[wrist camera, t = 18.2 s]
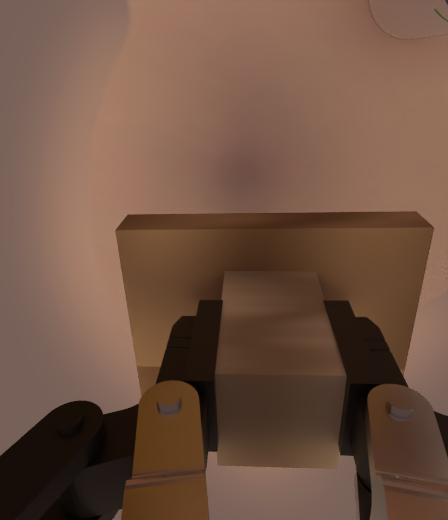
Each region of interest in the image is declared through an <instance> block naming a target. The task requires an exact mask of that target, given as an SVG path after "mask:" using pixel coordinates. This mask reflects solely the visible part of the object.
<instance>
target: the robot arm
mask: <svg viewBox="0 0 448 520" xmlns="http://www.w3.org/2000/svg"><path fill="white" fill-rule="evenodd" d="M323 301H324V304H325V308H326V311H327V314H328V317H329V320H330V324H331V327H332V330H333V333H334V336H335V340H336V343H337V346H338V349H339V352H340V356H341V359H342V362H343V365H344V368H345V372H346V375H347V378H346V386H345V394H344V402H343V409H342V417H341V425H340V433H339V440H338V446H339V451H340V455H349V456H354V460H355V464H356V471H355V477H354V488H355V504H356V520H448V416H446V415H442V414H440V413H437V412H435V411H434V410H433V408H432V406H431V404H430V403H429V401H428V400H427V399H426V398H425V397H424V396H422V395H421V394H420V393H418V392H417V391H415V390H413V389H411V388H409V387H408V385H407V383H406V381H405V379H404V377H403V375H402V373H401V371H400V369H399V367H398V365H397V363H396V361H395V359H394V357H393V354H392V352H390V348H389V346H388V344H387V342H385V338H384V336H383V334H382V332H381V330H380V328H379V327H378V326H377V325H376V324H375V323H373V322H372V321H371V320H370V319H369V318H368V317H355V315H354V312H353V310H352V308H351V305H350V303H349V301H348V300H323ZM222 305H223V300H199V304H198V309H197V314H196V316H181V318H180V319H179V320H178V321H177V322H176V323H175V324H174V325H173V326H172V329H171V333H170V336H169V340H168V343H167V346H166V350H165V353H164V357H163V360H162V364H161V367H160V370H159V374H158V377H157V381H156V384H155V385H154V386H152V387H150V388H149V389H148V390H147V391H146V392H145V393H144V394H143V395H142V397H141V399H140V401H139V404H137V405H135V406H133V407H131V408H128V409H124V410H121V411H116V412H112V413H108V414H104V415H103V413H102V410H101V409H100V407H99V406H98V405H96V404H94V403H92V402H89V401H73V402H69V403H66V404H64V405H61V406H59V407H57V408H56V409H54V410H52V411H51V412H50V413H49V414H48V415H46V416H45V417H44V418H43V419H42V420H41V421H39V422H38V423H37V424H36V425H35V426H34V427H33V428H32V429H30V430H29V431H28V432H27V433H26V434H25V435H24V436H22V437H21V438H20V439H19V440H18V441H17V442H16V443H15V444H13V445H12V446H11V447H10V448H9V449H8V450H7V451H5V452H4V453H3V454H2V455H1V456H0V520H112V519H113V518H114V517H115V515H116V513H117V512H118V510H119V509H122V515H121V520H209V508H208V496H207V485H206V473H205V471H206V467H207V456H208V451H212V452H218V423H217V404H216V385H215V369H216V360H217V351H218V341H219V332H220V323H221V314H222Z"/></svg>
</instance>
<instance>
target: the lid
mask: <svg viewBox="0 0 448 520" xmlns="http://www.w3.org/2000/svg"><path fill="white" fill-rule="evenodd" d="M433 230H434V227H433V226H432V225H431V224H430V223H428V222H427V221H426V220H425V219H424V218H423V217H422V216H421V215H419V214H418V213H417V212H325V213H234V214H142V215H127V216H126V218H125V219H124V220H123V221H122V223H121V224H120V225H119V226H118V228H117V229H116V230H115V231H116V237H117V243H118V250H119V256H120V263H121V269H122V275H123V282H124V288H125V294H126V301H127V307H128V313H129V320H130V326H131V332H132V339H133V345H134V351H135V357H136V364H137V370H138V377H139V383H140V389H141V396H142V395H143V394H144V393H145V392H146V391H147V390H148V389H149V388H150V387H152V386H154V385H155V384H156V381H157V377H158V374H159V370H160V367H161V364H162V360H163V357H164V353H165V350H166V346H167V343H168V340H169V336H170V333H171V329H172V326H173V325H174V324H175V323H176V322H177V321H178V320H179V319H180V318H181V316H196V314H197V309H198V304H199V300H223V305H222V314H221V323H220V332H219V341H218V351H217V360H216V369H215V385H216V404H217V423H218V452H217V461H218V465H223V466H257V467H258V466H259V467H292V468H325V469H326V468H327V469H337V464H338V457H339V452H340V451H339V446H338V440H339V433H340V425H341V417H342V409H343V402H344V394H345V386H346V378H347V375H346V372H345V368H344V365H343V362H342V359H341V356H340V352H339V349H338V346H337V343H336V340H335V336H334V333H333V330H332V327H331V324H330V320H329V317H328V314H327V311H326V308H325V304H324V301H323V300H348V301H349V303H350V305H351V308H352V310H353V312H354V315H355V317H368V318H369V319H370V320H371V321H372V322H373V323H375V324H376V325H377V326H378V327H379V328H380V330H381V332H382V334H383V336H384V338H385V342H387V344H388V346H389V348H390V352H392V354H393V357H394V359H395V361H396V363H397V365H398V367H399V369H400V371H401V373H402V375H404V370H405V365H406V361H407V356H408V350H409V346H410V341H411V336H412V332H413V327H414V321H415V316H416V312H417V307H418V303H419V298H420V293H421V288H422V283H423V278H424V274H425V269H426V264H427V259H428V254H429V249H430V244H431V240H432V235H433Z"/></svg>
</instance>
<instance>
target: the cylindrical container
mask: <svg viewBox="0 0 448 520" xmlns="http://www.w3.org/2000/svg"><path fill="white" fill-rule="evenodd" d="M368 2H369V6H370V11H371V13H372V16H373V18H374V20H375V22H376V23H377V25H378V26H379V27H380V28H381V29H382V30H383V31H384V32H385V33H387V34H389V35H391V36H393V37H396V38H400V39H416V38H423V37H430V36H438V35H445V34H448V0H368Z"/></svg>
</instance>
